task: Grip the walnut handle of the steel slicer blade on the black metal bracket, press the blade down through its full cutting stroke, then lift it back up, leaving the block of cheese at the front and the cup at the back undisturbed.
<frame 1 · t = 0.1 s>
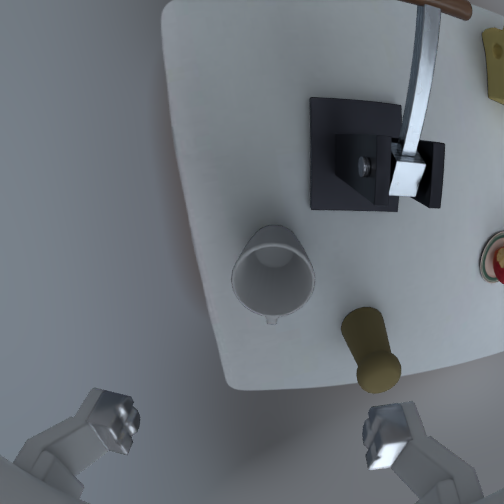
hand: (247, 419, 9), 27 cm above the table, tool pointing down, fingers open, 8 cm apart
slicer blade: (418, 94, 14), point 16 cm above the table, hinge at 28.0°
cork: (362, 324, 38), on the table
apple: (497, 256, 33), on the table
cup: (274, 256, 36), on the table
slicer: (355, 154, 30), on the table
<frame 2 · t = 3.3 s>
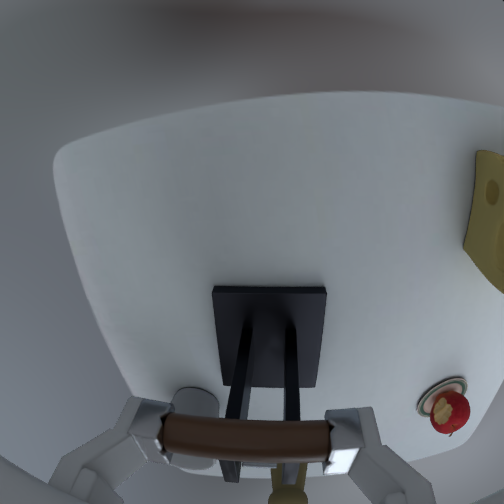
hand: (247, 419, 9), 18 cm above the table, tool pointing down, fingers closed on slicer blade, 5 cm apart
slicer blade: (256, 448, 13), point 16 cm above the table, hinge at 28.0°, touching gripper
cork: (289, 448, 37), on the table
cheese: (503, 208, 22), on the table
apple: (441, 395, 32), on the table
cup: (198, 405, 35), on the table
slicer: (269, 339, 29), on the table
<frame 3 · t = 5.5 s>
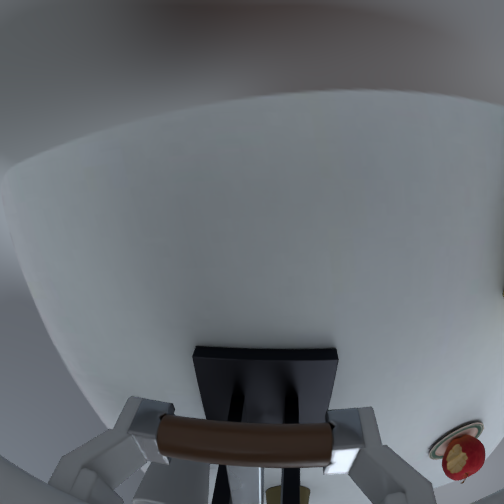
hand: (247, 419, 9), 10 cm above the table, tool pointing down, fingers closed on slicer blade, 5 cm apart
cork: (287, 491, 31), on the table
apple: (455, 438, 25), on the table
cup: (187, 454, 28), on the table
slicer: (265, 401, 23), on the table
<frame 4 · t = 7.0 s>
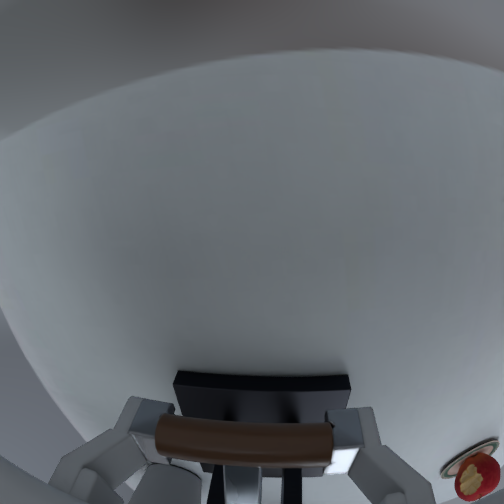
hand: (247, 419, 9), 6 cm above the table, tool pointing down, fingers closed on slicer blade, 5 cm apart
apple: (469, 456, 21), on the table
cup: (177, 477, 24), on the table
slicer: (262, 431, 18), on the table
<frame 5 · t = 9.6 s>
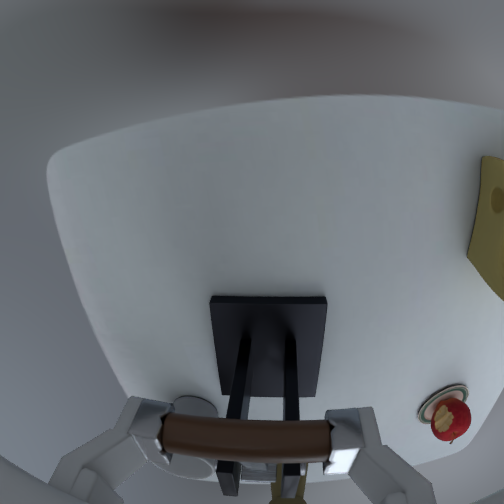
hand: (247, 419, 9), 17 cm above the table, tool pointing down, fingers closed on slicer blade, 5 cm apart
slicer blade: (256, 459, 12), point 15 cm above the table, hinge at 22.7°, touching gripper
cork: (288, 455, 37), on the table
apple: (442, 402, 31), on the table
cup: (197, 413, 34), on the table
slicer: (268, 349, 28), on the table
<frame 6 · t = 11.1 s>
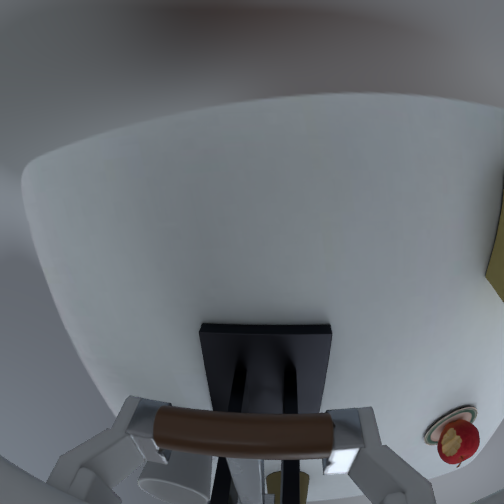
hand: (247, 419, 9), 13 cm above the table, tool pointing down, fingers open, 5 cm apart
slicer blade: (251, 492, 10), point 14 cm above the table, hinge at 5.5°
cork: (287, 477, 33), on the table
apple: (450, 423, 28), on the table
cup: (190, 438, 30), on the table
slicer: (266, 378, 25), on the table
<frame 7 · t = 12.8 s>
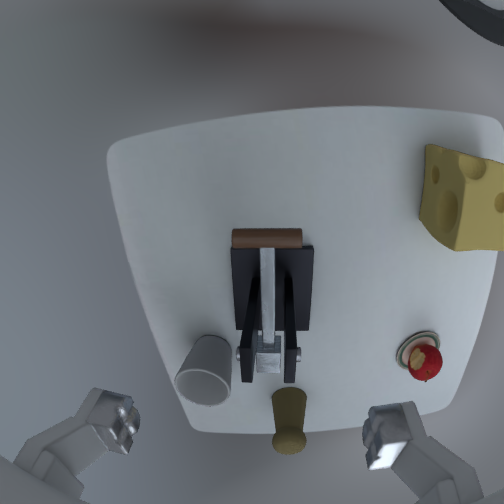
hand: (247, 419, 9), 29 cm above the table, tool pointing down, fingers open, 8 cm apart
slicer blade: (268, 308, 25), point 14 cm above the table, hinge at 5.5°
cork: (289, 397, 48), on the table
cheese: (452, 188, 32), on the table
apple: (417, 349, 42), on the table
cup: (214, 354, 45), on the table
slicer: (272, 288, 39), on the table
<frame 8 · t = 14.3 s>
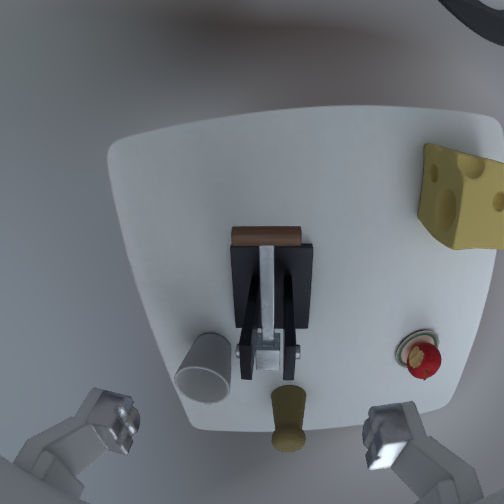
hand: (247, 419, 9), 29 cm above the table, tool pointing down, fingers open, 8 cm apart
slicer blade: (267, 305, 25), point 14 cm above the table, hinge at 5.5°
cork: (288, 395, 48), on the table
cheese: (451, 187, 32), on the table
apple: (416, 347, 42), on the table
cup: (213, 351, 45), on the table
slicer: (272, 286, 40), on the table
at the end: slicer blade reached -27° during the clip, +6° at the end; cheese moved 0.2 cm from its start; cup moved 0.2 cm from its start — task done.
